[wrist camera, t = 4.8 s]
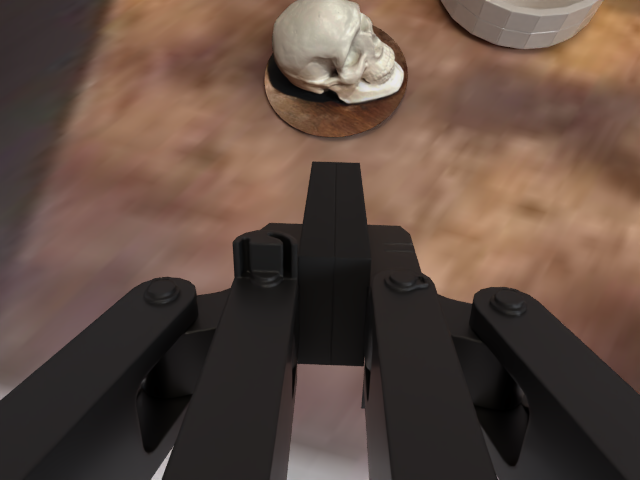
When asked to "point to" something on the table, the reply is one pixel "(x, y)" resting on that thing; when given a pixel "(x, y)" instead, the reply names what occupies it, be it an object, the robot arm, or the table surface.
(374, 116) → the skull
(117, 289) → the table surface
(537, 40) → the saucepan
